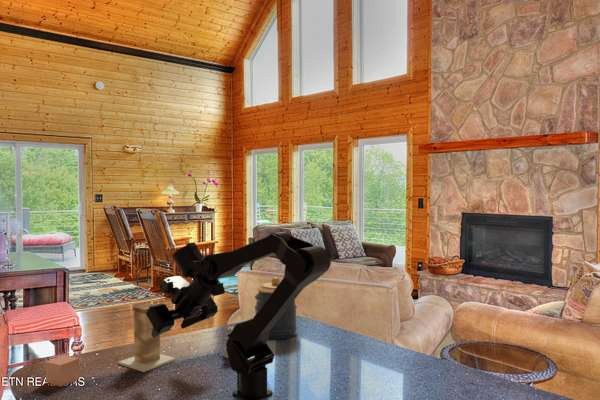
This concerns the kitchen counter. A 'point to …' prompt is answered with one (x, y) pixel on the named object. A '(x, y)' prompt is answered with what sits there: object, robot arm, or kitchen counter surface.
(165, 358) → the pad
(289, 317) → the canister
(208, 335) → the kitchen counter surface
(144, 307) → the brown block
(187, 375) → the kitchen counter surface
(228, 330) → the rook chess piece
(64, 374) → the terracotta block
